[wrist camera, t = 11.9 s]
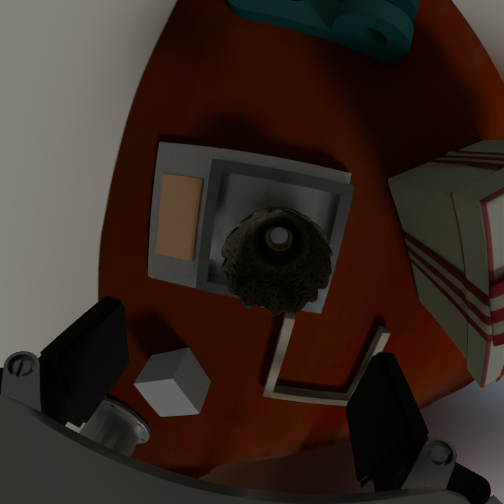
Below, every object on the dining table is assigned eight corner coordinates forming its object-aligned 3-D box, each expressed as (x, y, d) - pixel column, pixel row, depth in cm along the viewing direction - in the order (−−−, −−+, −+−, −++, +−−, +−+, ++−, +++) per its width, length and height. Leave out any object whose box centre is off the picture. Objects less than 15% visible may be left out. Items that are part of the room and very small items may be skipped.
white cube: (174, 386, 35) (160, 416, 29) (152, 354, 33) (133, 383, 28) (211, 381, 34) (199, 414, 28) (189, 346, 32) (172, 378, 26)
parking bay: (350, 398, 32) (352, 406, 31) (263, 388, 33) (262, 396, 31) (386, 326, 28) (390, 333, 27) (285, 310, 29) (285, 317, 28)
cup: (331, 211, 24) (351, 232, 17) (302, 283, 27) (308, 328, 19) (252, 184, 24) (238, 193, 17) (229, 258, 27) (208, 296, 19)
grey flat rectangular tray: (315, 307, 29) (317, 322, 26) (151, 273, 29) (139, 284, 27) (348, 173, 24) (356, 174, 21) (163, 142, 25) (150, 140, 22)
